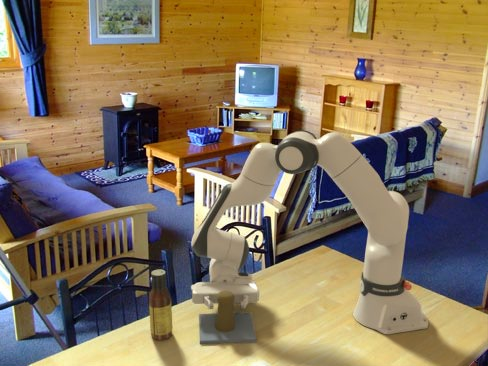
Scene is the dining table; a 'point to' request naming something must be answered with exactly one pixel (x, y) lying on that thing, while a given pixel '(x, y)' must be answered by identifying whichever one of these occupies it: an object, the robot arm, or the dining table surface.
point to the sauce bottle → (160, 306)
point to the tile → (237, 335)
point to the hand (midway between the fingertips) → (227, 306)
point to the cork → (225, 312)
